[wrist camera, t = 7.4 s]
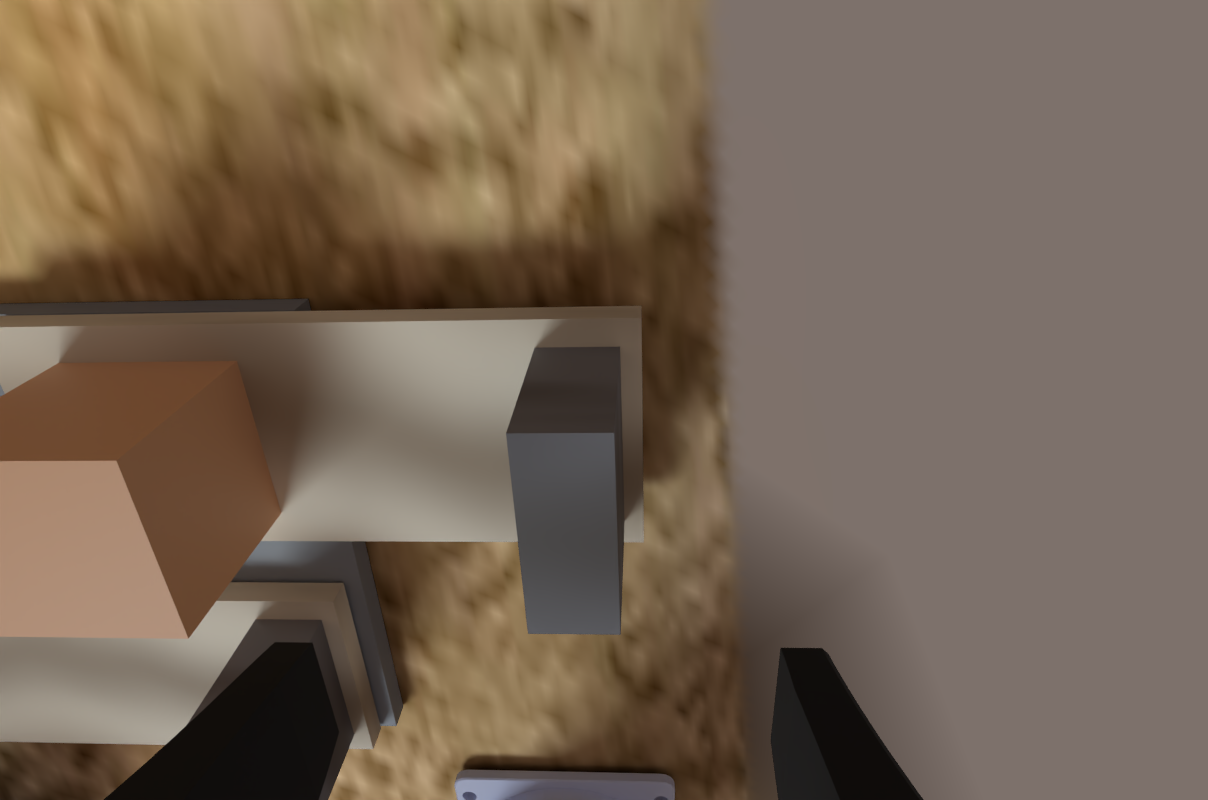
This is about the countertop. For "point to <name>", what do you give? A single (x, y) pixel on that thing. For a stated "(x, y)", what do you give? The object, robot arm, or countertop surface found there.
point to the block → (127, 497)
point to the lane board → (284, 557)
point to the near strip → (422, 427)
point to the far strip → (183, 672)
